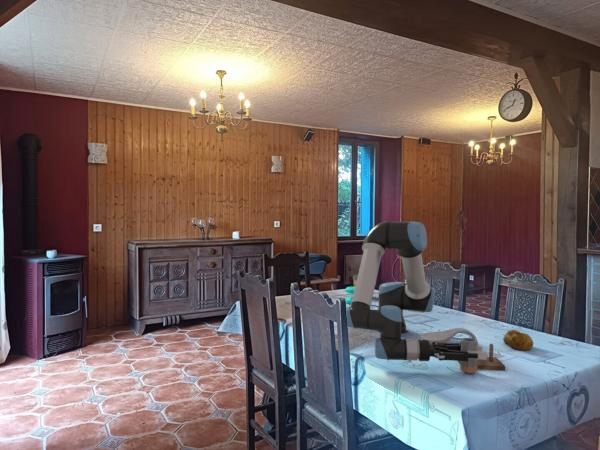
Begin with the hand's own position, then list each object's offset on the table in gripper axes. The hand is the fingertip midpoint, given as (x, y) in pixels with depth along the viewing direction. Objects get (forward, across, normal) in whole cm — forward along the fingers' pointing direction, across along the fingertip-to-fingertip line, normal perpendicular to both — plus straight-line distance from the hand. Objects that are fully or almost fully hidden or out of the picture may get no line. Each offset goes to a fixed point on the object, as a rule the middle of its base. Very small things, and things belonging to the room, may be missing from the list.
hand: (484, 352), depth 153 cm
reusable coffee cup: (-40, -134, -9) cm, 140 cm away
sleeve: (-5, 0, -6) cm, 8 cm away
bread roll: (+24, -34, -8) cm, 42 cm away
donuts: (-46, -114, -8) cm, 123 cm away
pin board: (+1, -9, -8) cm, 12 cm away
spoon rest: (-5, -34, -8) cm, 35 cm away
